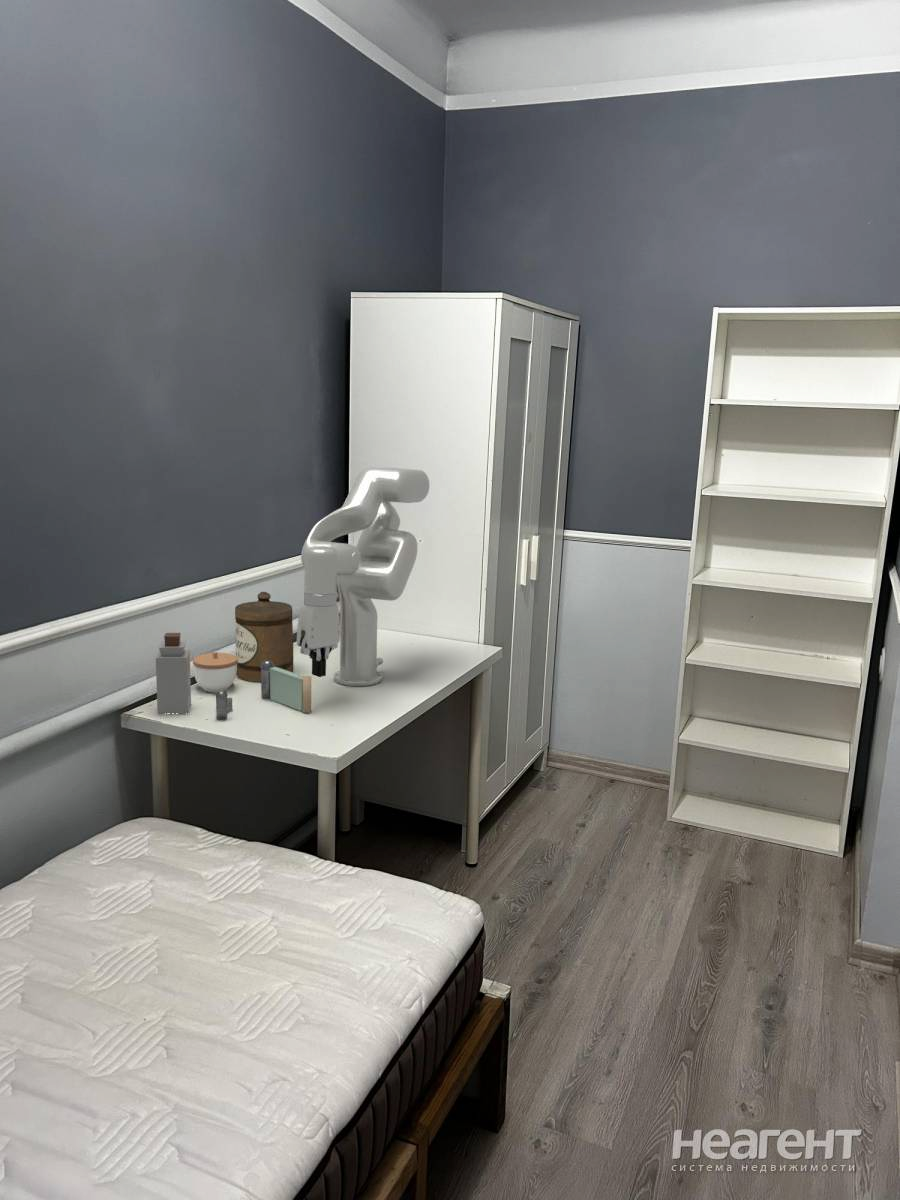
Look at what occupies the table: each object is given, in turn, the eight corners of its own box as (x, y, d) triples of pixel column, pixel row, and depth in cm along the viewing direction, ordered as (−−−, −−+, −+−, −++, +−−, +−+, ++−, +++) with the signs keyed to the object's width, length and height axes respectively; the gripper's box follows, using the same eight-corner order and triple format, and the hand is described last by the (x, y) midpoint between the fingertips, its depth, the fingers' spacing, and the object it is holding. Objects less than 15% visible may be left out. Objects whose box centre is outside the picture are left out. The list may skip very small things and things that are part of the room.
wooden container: (230, 668, 249) (229, 587, 244) (285, 663, 255) (285, 585, 250) (242, 685, 236) (241, 600, 231) (299, 679, 242) (299, 597, 237)
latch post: (229, 709, 218) (228, 682, 216) (241, 712, 216) (241, 685, 215) (209, 718, 212) (209, 690, 210) (222, 721, 210) (222, 693, 209)
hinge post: (266, 694, 229) (265, 657, 227) (276, 696, 228) (276, 659, 226) (258, 698, 226) (257, 660, 224) (269, 700, 225) (268, 662, 223)
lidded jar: (207, 679, 239) (207, 644, 237) (245, 684, 236) (245, 649, 234) (185, 692, 229) (184, 655, 227) (224, 697, 226) (223, 660, 224)
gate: (269, 699, 225) (269, 666, 223) (276, 697, 227) (275, 665, 225) (306, 713, 217) (306, 679, 215) (313, 711, 218) (313, 677, 216)
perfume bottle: (191, 704, 221) (189, 630, 217) (188, 714, 214) (186, 638, 210) (161, 705, 219) (158, 631, 215) (157, 714, 213) (155, 638, 209)
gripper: (333, 593, 226) (331, 666, 230) (284, 600, 215) (283, 677, 219) (354, 598, 222) (352, 673, 225) (306, 606, 210) (304, 684, 214)
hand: (318, 675), depth 222 cm, fingers closed
